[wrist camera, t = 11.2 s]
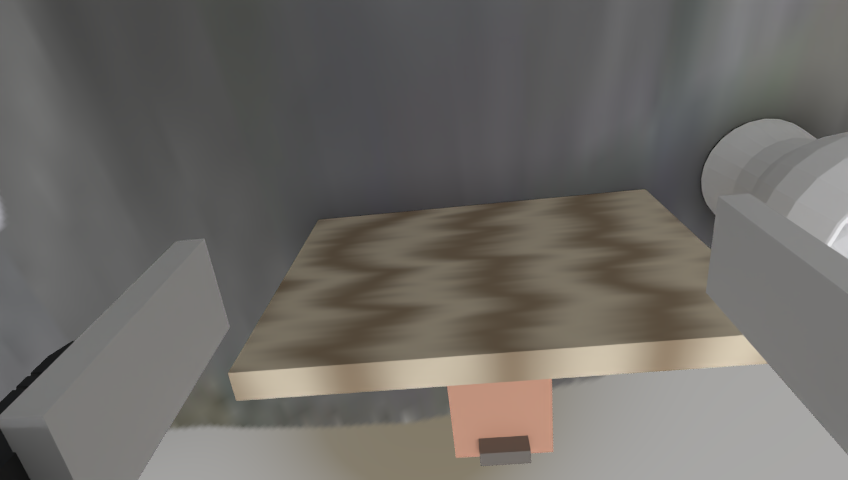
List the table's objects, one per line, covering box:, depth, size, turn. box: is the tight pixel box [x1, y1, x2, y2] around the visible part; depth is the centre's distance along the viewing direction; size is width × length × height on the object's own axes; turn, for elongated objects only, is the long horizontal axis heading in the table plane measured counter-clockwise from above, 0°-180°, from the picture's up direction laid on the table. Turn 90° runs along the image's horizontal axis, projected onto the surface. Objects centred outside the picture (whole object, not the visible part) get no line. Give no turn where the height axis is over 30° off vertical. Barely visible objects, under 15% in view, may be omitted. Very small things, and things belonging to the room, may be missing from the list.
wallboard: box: [228, 189, 768, 401], centre depth 33 cm, size 24×5×19 cm, turn 96°
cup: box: [701, 119, 848, 259], centre depth 33 cm, size 11×11×15 cm
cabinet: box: [447, 379, 553, 466], centre depth 36 cm, size 6×10×9 cm, turn 6°
